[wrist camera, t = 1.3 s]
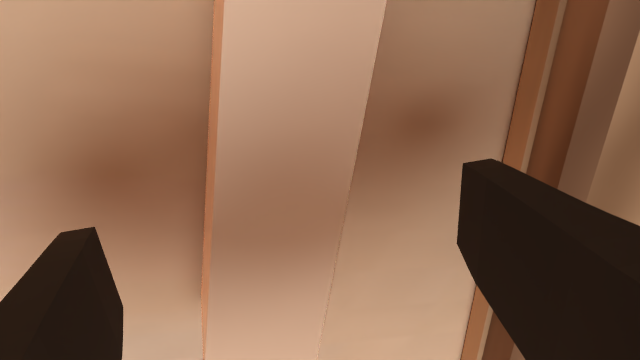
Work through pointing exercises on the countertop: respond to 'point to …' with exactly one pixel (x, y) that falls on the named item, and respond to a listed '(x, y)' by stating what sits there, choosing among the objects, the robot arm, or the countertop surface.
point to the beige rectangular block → (280, 168)
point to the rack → (573, 124)
